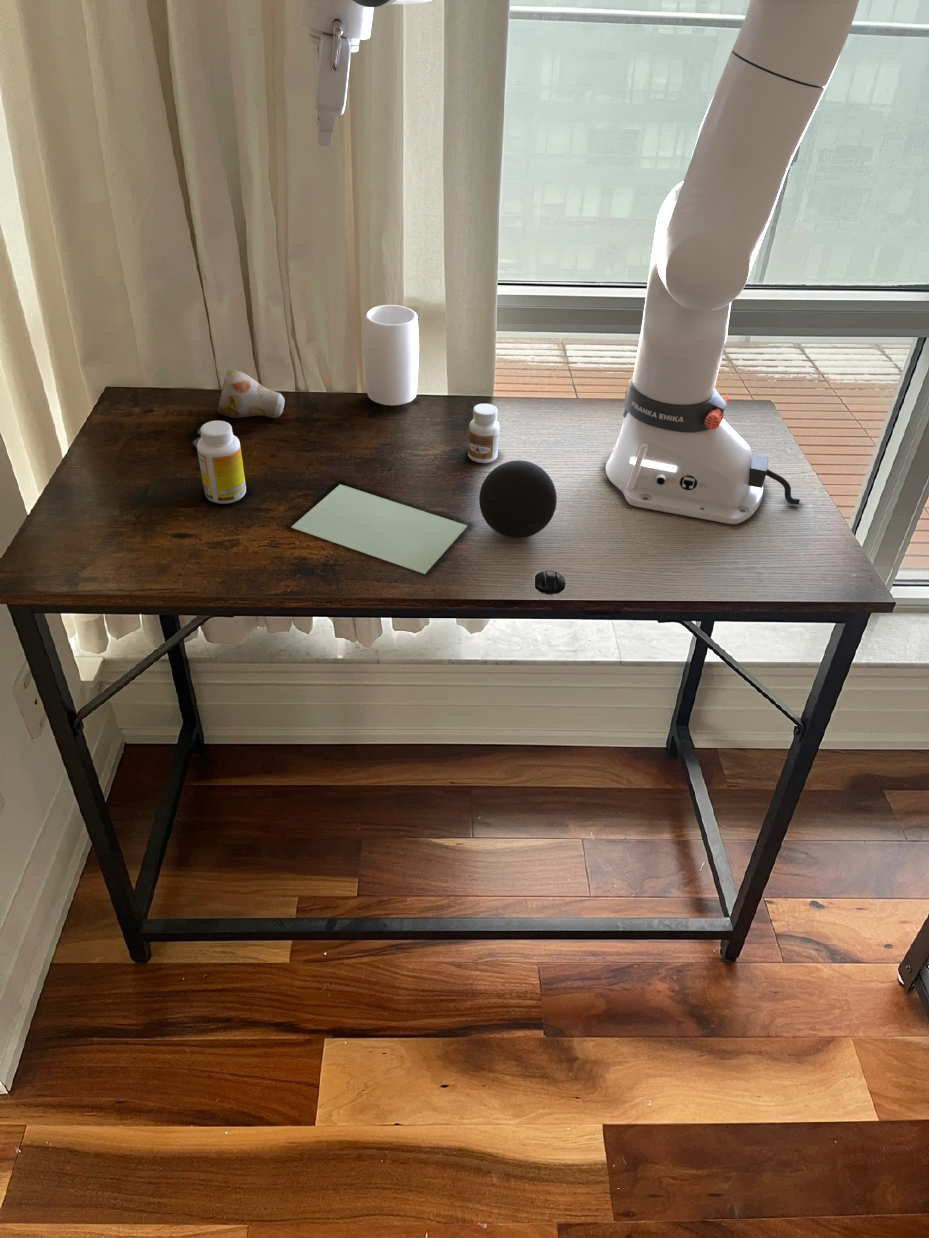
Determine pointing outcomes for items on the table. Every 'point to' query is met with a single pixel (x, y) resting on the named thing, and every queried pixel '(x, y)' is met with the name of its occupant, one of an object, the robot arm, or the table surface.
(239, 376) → the white spotted container
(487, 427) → the pill bottle
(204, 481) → the supplement bottle
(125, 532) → the table surface
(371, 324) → the cup
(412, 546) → the mat
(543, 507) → the speaker
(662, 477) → the robot arm
